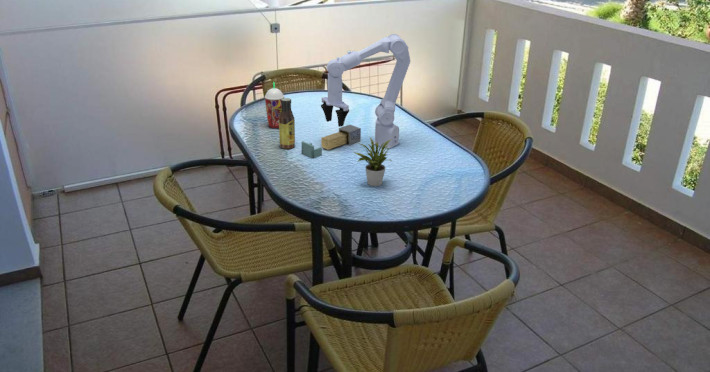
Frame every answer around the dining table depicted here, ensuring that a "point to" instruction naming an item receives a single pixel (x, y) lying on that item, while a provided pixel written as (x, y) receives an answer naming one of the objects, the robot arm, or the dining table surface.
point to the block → (334, 140)
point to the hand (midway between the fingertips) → (334, 123)
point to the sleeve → (352, 134)
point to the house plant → (375, 163)
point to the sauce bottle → (286, 125)
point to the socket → (310, 150)
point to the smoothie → (273, 106)
